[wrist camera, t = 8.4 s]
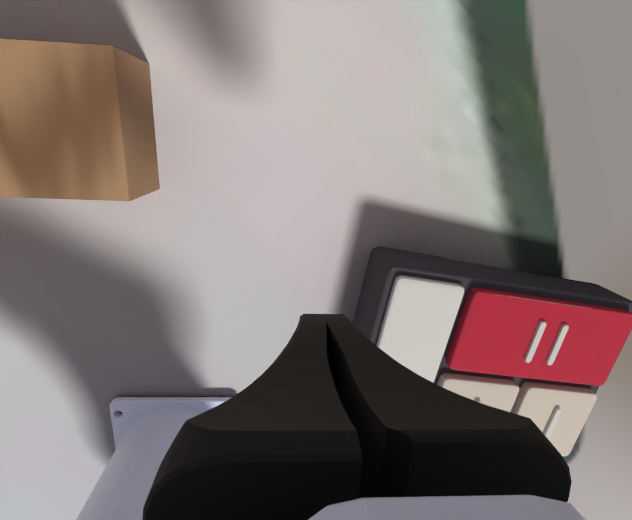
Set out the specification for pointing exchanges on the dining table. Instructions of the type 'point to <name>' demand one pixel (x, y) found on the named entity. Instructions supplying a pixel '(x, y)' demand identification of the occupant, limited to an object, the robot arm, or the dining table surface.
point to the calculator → (497, 334)
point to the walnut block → (75, 122)
